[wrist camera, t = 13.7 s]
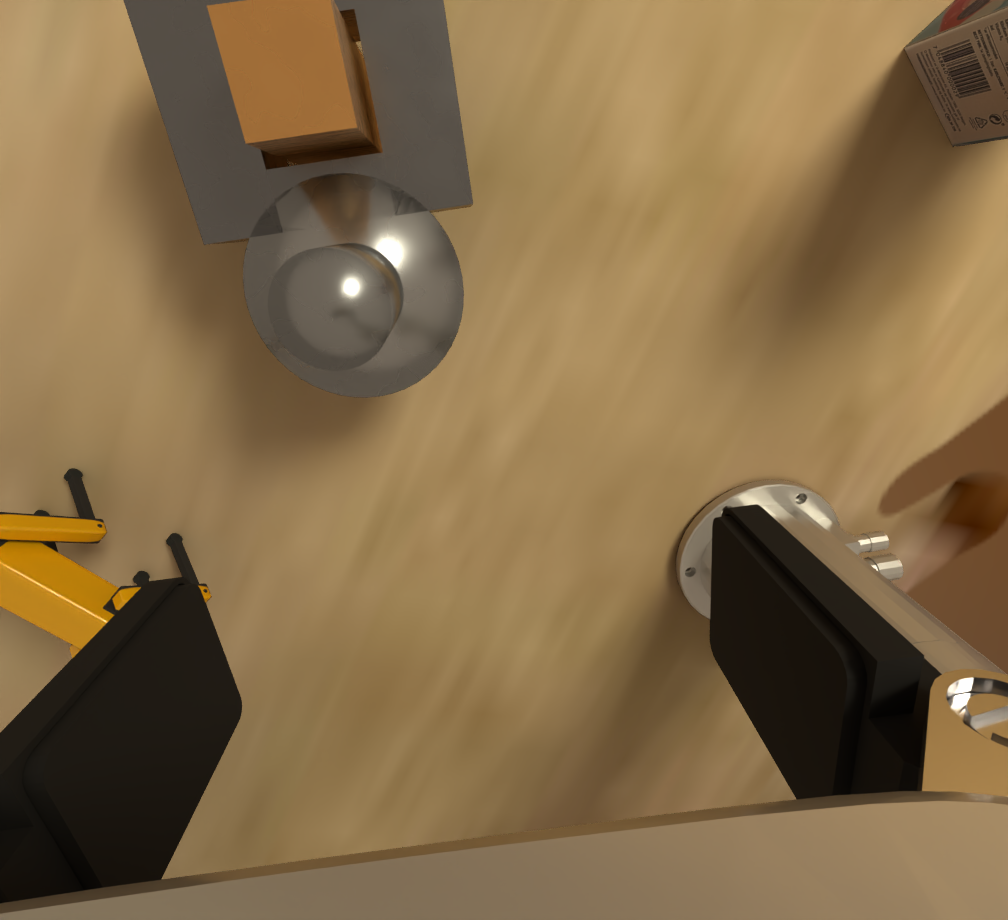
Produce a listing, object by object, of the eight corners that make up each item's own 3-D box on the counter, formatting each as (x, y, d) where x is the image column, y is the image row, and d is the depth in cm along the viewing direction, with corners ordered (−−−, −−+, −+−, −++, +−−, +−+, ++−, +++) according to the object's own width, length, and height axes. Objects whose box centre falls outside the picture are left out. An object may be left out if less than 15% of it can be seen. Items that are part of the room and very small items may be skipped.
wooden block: (389, 162, 31) (357, 127, 20) (318, 172, 31) (246, 143, 20) (373, 77, 29) (328, -12, 18) (297, 88, 29) (206, 5, 18)
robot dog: (-24, 395, 34) (-292, 491, 22) (234, 562, 40) (137, 712, 28) (-68, 459, 35) (-347, 584, 23) (188, 611, 41) (76, 776, 29)
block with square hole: (435, -6, 28) (423, -197, 15) (488, 345, 35) (510, 414, 23) (199, 28, 28) (-15, -140, 15) (300, 375, 35) (213, 462, 22)
